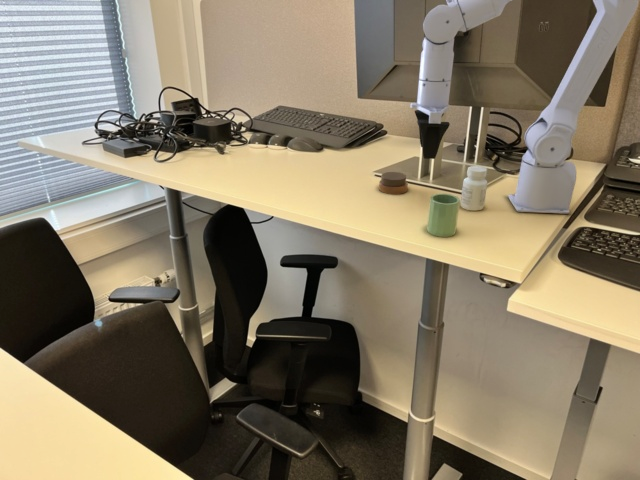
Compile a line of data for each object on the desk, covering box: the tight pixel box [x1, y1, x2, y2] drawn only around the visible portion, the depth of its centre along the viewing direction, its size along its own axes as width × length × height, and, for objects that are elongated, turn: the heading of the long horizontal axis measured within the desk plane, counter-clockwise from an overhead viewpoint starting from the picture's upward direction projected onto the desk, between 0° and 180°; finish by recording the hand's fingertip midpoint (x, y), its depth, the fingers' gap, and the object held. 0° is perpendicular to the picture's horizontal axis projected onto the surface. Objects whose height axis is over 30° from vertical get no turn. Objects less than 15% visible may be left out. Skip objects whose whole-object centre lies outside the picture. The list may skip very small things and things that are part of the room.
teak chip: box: [378, 180, 409, 195], centre depth 99 cm, size 6×6×2 cm
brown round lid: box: [380, 171, 407, 187], centre depth 98 cm, size 5×5×2 cm
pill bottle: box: [459, 165, 488, 212], centre depth 89 cm, size 4×4×8 cm
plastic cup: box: [426, 193, 461, 238], centre depth 80 cm, size 5×5×6 cm
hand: (427, 152), depth 91 cm, fingers open, 7 cm apart
